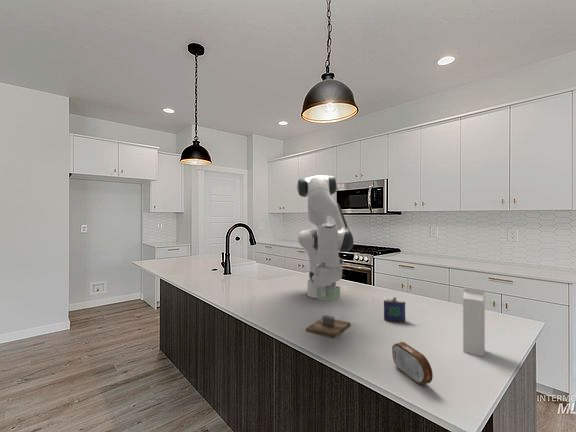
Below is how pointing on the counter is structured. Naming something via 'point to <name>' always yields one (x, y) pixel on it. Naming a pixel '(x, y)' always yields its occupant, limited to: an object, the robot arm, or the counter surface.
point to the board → (328, 328)
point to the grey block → (328, 321)
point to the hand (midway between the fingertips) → (328, 294)
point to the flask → (394, 310)
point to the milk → (474, 321)
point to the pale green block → (329, 293)
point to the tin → (412, 363)
